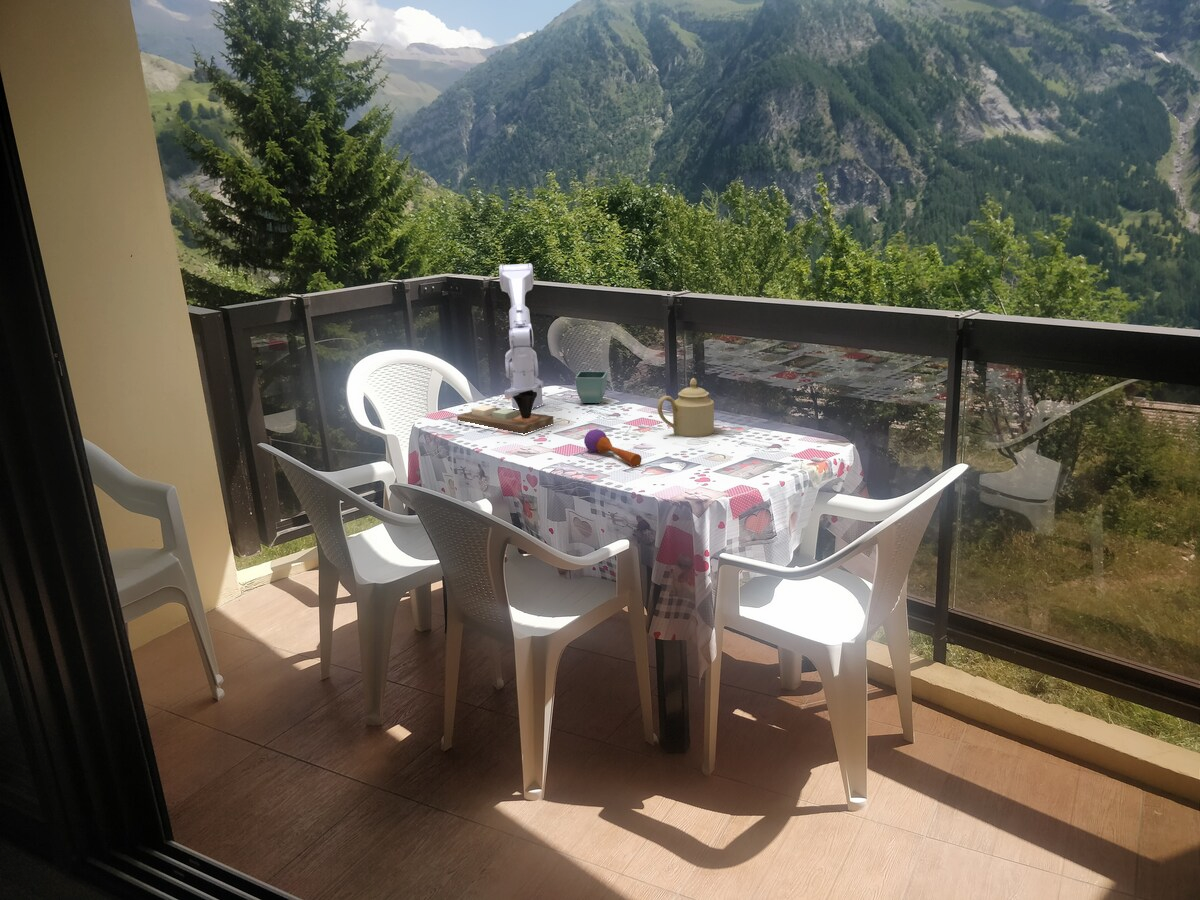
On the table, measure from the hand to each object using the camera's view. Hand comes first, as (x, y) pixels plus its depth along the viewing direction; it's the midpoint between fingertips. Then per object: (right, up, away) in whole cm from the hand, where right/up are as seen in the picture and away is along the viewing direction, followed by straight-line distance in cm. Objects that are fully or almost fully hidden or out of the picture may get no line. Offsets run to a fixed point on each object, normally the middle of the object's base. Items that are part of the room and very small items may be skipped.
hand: (526, 417), depth 268 cm
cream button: (-13, +1, +10) cm, 16 cm away
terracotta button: (0, -2, +1) cm, 3 cm away
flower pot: (+18, +5, +27) cm, 33 cm away
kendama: (+24, -11, -29) cm, 39 cm away
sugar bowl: (+45, -5, -10) cm, 46 cm away
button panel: (-6, -2, +5) cm, 9 cm away
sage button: (-6, 0, +5) cm, 8 cm away
